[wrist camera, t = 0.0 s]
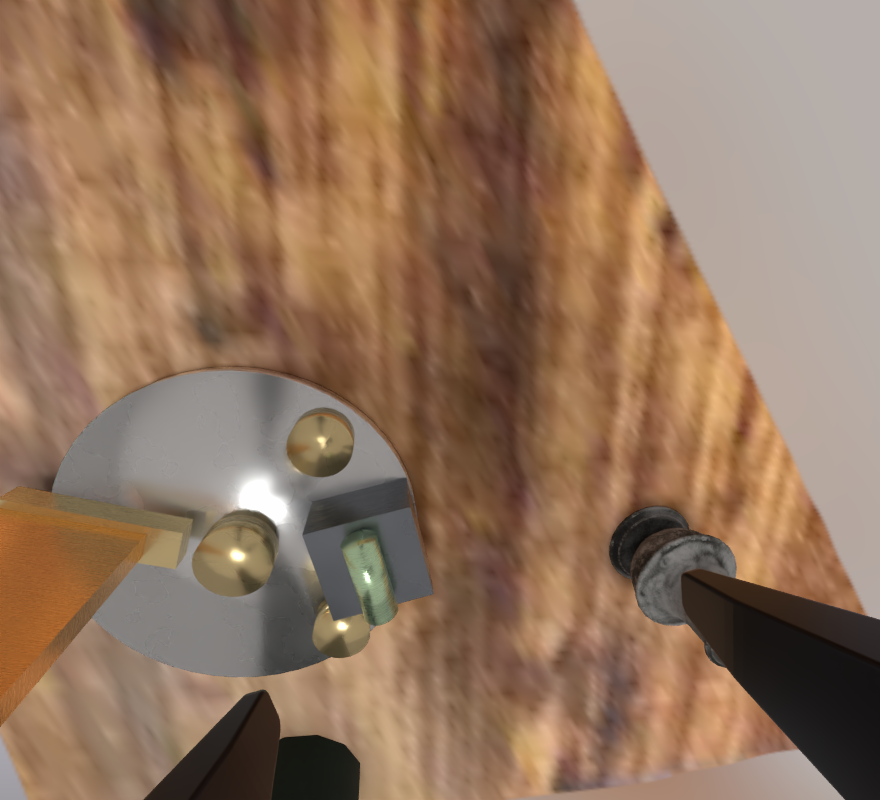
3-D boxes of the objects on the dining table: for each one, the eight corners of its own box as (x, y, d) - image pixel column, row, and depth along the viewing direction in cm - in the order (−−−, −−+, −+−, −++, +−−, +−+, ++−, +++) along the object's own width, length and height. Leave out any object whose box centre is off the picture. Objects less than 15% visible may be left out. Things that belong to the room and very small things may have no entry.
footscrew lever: (285, 522, 22) (214, 712, 13) (270, 581, 23) (192, 801, 13) (20, 470, 20) (-315, 656, 10) (14, 538, 21) (-301, 768, 11)
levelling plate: (-8, 416, 20) (-146, 468, 15) (370, 328, 21) (366, 347, 16) (150, 696, 26) (90, 807, 20) (446, 615, 27) (461, 700, 22)
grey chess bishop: (626, 493, 26) (817, 665, 15) (708, 511, 27) (943, 684, 16) (590, 575, 28) (739, 790, 16) (669, 589, 29) (860, 800, 17)
